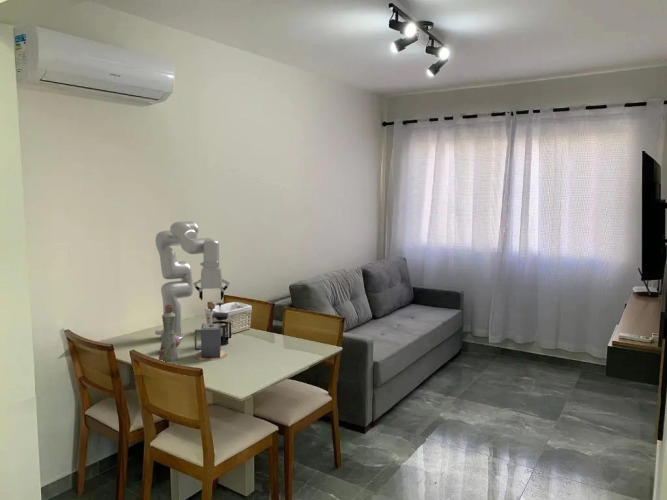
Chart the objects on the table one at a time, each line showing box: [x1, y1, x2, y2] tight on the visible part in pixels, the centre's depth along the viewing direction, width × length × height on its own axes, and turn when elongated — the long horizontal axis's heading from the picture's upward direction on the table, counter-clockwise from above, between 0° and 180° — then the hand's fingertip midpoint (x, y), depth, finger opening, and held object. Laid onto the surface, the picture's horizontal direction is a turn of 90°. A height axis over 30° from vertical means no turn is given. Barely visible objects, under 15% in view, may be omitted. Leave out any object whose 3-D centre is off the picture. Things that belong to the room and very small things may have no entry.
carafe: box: [194, 323, 222, 358], centre depth 253 cm, size 12×9×15 cm
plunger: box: [206, 301, 216, 327], centre depth 252 cm, size 6×6×19 cm
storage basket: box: [204, 301, 253, 336], centre depth 300 cm, size 24×16×15 cm
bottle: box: [158, 305, 179, 363], centre depth 245 cm, size 9×9×28 cm
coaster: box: [194, 350, 228, 362], centre depth 254 cm, size 16×16×1 cm
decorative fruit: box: [174, 333, 181, 349], centre depth 261 cm, size 9×8×10 cm
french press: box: [212, 302, 232, 347], centre depth 272 cm, size 12×9×23 cm
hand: (211, 299), depth 250 cm, fingers open, 9 cm apart
